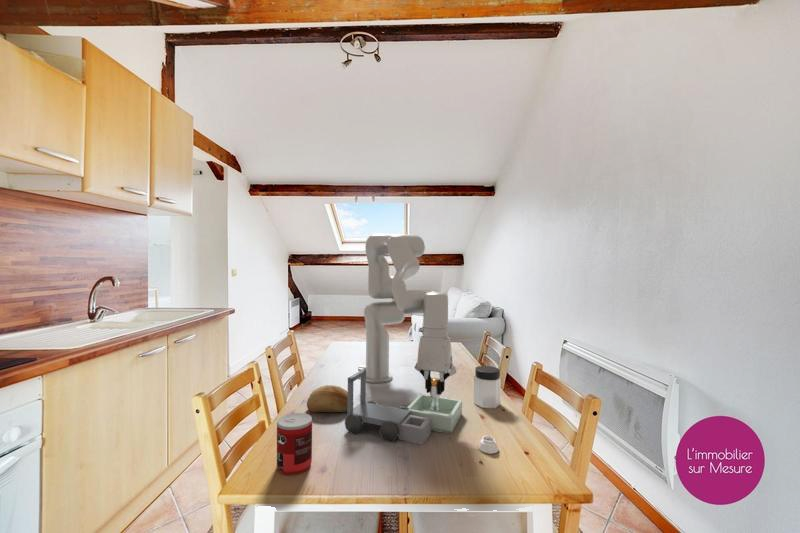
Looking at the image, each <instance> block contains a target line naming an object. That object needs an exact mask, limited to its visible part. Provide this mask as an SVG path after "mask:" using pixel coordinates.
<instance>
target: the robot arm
mask: <svg viewBox="0 0 800 533" xmlns="http://www.w3.org/2000/svg"><path fill="white" fill-rule="evenodd" d="M425 246H426V245H425V242H424V240H423V238H422V237H421V236H419V235H417V234H405V233H404V234H402V233H400V234H399V233H398V234H397V233H396V234H391V233H388V234H387V233H375V234H371V235H369V236H368V237H367V239H366V242H365V246H364V247H365V256H366V259H367V264H368V272H367V273H368V275H367V276H368V277H367V278H368V279H367V280H368V281H367V282H368V283H367V284H368V286H367V288H368V291H367V292H368V295H369V297H370V298H371V299H375V300H376V299H377V300H389V299H391V301H377V302H376V301H375V302H371V303H370V302H369V303H368V304H367V305H366V306H365V307H364V309H363V316H364V323H365V366H364V365H358V367H357V370H358V372H359V371H361V370H366V383H373V384H382V383H387V382H390V381H391V380H392V379H393V374H392V373H391V372H390V368H389V367H390V335H389V333H388V331H387V329H386V328H385V327H384V326H387V325H396V324H402V323H403V322H404V321H405V318H406V315H412V314H413V315H414V314H423V316H422V317H423V319H422V320H423V322H422V323H423V325H422V326H421V327H419V328H418V332H419V333H421V334H422V335H421V336H420V338H419V343H418V347H417V348H418V349H417V350H418V351H417V361H416V364H415V365H414V369H415V371H417V372H419V373H420V374H421V375H422V377H423V378H424V381H425V382H424V384H425V385H424V387H425V388H424V389H425V390H426V393H427V394H430V379H431V378H432V376H431V372H435V373H439V374H438V375H439V378H438V379H439V382H438V394H439V395H440V396H442V395H443V393H444V392H445V385H446V384H445V382H446V380H447V378H449V377H451V376H454V375H456V373H457V369H456V367H455V365H454V363H453V352H452V351H453V349H452V343H451V342H452V341H451V339H450V337H449V336H448V335H449V297H448V296H449V295H448V294H447V293H445V292H438V291H435V290H432V289H417V290H416V289H414V290H413V289H412V290H407V288H406V283H405V282H406V281H405V280H408V279H409V278H411V277H413V276H414V275H416V274H417V273H418V271H419V270H420V261H419V260H418V258H420V257H421V256H423V255H424V252H425V250H426V247H425ZM385 256H389V257H390V259H391V262H392V264H393V267H394V269H395V271H396V272H395V274H394V275H390V264H389V261H388V260H387V259H386V257H385Z"/></svg>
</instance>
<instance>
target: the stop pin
mask: <svg viewBox="0 0 800 533" xmlns="http://www.w3.org/2000/svg"><path fill="white" fill-rule="evenodd" d="M439 379H440V378H438V377H431V379H430V392H429V395H430V410H433V411H438V410H439V409H440V397H441V395H439V394H438V382H439Z"/></svg>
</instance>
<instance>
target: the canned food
mask: <svg viewBox="0 0 800 533" xmlns="http://www.w3.org/2000/svg"><path fill="white" fill-rule="evenodd" d="M312 454H313V419H312V415H310V414H308V413H305V412H304V413H303V412H294V413H289V414H285V415H283V416H280V417H279V418H278V419H277V421H276V468H277V470H278V472H280V473H281V474H282V475H287V476H290V475H291V476H292V475H293V476H294V475H299V474H302V473H304V472H306V471H308V470H309V468H310V466H311V464H312V462H313V461H312V458H313V457H312V456H313V455H312Z"/></svg>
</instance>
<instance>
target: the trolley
mask: <svg viewBox="0 0 800 533" xmlns="http://www.w3.org/2000/svg"><path fill="white" fill-rule="evenodd" d="M358 379H360V394H359V395H360V396H359V397H360V398H359V399H360V400H359V401H360V403H359V404H357V405H356V406H355V407H354V382H355V381H357V380H358ZM347 392H348V403H347V411H346V412H347V415H346V416H347V417H346V418H345V420H344V426H345V429H346V430H347V431H348V432H349V433H351V434H357V433H359V431H361V430H362V428H363V424H364V423H368V424H372V425H377V426H380V427H379V433H380V436H381V438H382V439H383V440H384V441H385V442H389V443H391V442H394V441H395V440H396V439H397V438H398V440H402V441H406V442H411V443H415V444H420V445H424V443H425V442H426V440H428V438H429V436H430V434H432V430H431V419H430V418H425V417H420V416H415V415H411V410H409V408H407V407H408V406H404V405H403V406H400V407H395V406H394V407H393V406H390V405H389V406H388V405H382V404H378V403H377V402H376V401H374V400H367V401H366V397H367V396H366V395H367V394H366V392H367V382H366V370H361V371H358V372H355V373H354V374H352V375H350V376H349V377H347Z"/></svg>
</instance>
